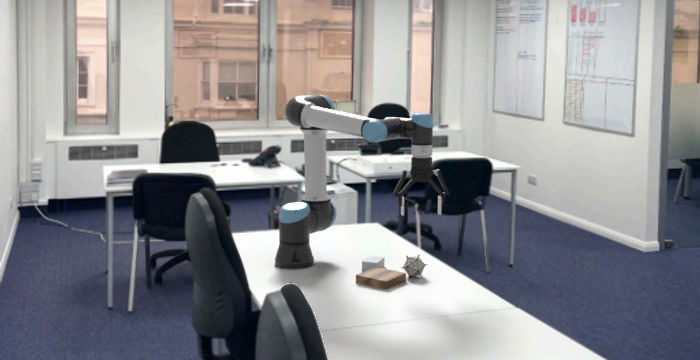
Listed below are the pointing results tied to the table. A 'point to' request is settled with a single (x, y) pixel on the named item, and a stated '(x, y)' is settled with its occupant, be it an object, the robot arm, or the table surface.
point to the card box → (372, 262)
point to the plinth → (380, 278)
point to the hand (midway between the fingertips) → (421, 214)
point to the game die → (414, 266)
